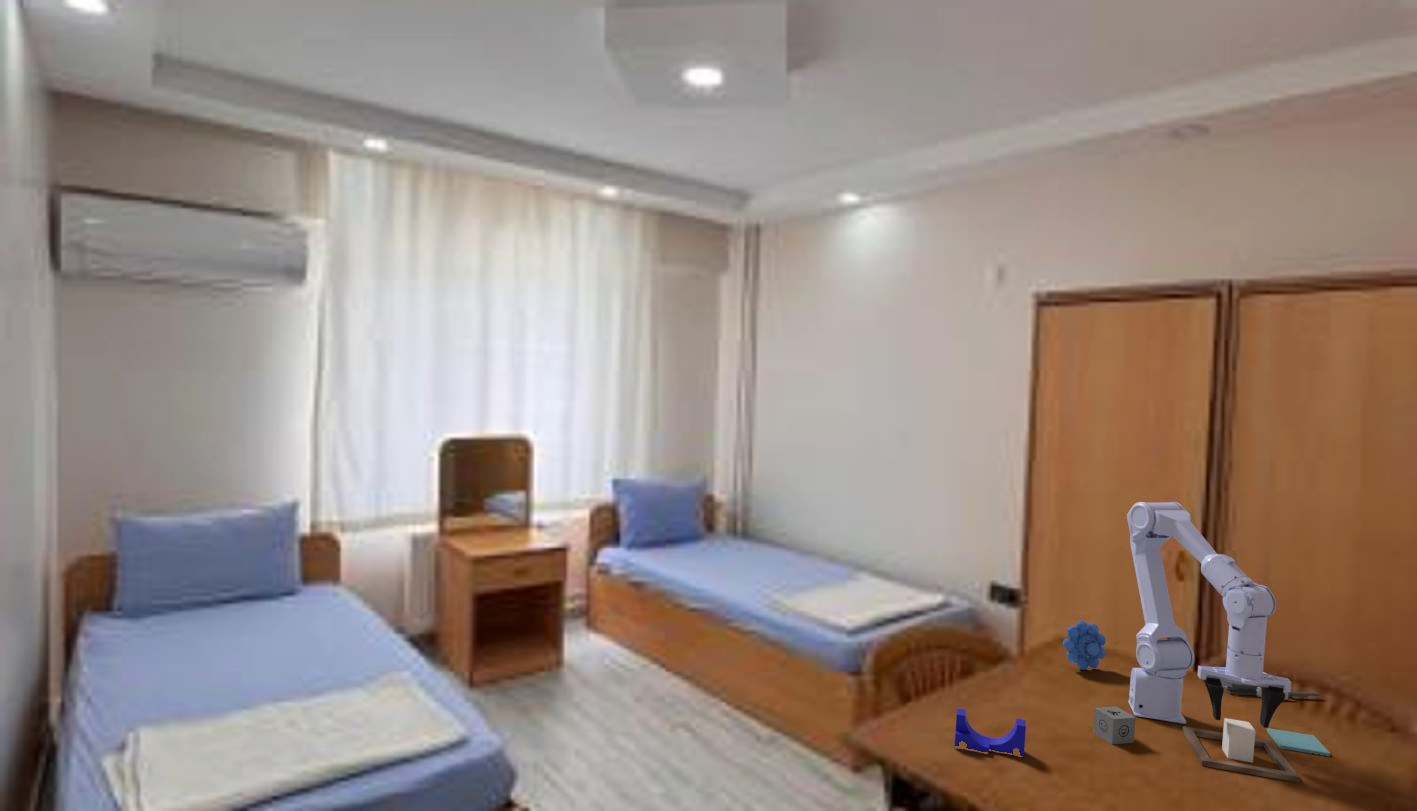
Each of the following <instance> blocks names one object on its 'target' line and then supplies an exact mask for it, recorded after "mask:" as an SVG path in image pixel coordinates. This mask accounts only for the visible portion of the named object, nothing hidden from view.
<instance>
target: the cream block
mask: <svg viewBox="0 0 1417 811" xmlns="http://www.w3.org/2000/svg"><path fill="white" fill-rule="evenodd" d="M1222 729H1223V731H1222V733H1223V741H1222V740H1221V741H1222V744H1221V745H1222V746H1221V750H1222V751H1223V753H1224V755H1225V756H1226V758H1227V759H1230V760H1236V761H1241V762H1248V763H1254V755H1255V746H1254V743H1255V738H1256V730H1255V728H1254V727H1253V726H1252V724H1251V723H1250V722H1249V721H1246V720H1238V719H1234V718H1233V719H1232V718H1225V717H1224V718H1223V728H1222Z"/></svg>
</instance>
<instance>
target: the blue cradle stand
mask: <svg viewBox="0 0 1417 811" xmlns="http://www.w3.org/2000/svg"><path fill="white" fill-rule="evenodd" d="M1015 719H1016V720H1015V722H1014V723H1015V724H1014V726H1013V728H1012V729H1011V731H1009V732H1008V733H1007V734H1005V735H1003V736H1000V737H988V736H985V735H983V734H981V733H978V732H977V731H976V730H975V729H974V728H973V727H972V726H971V725H970V722H969V721H968V718H967V714H966V709H963V708H958V707H956V718H955V722H956V723H955V734H954V747H955V746H959V742H961V741H963V742H965V743H966V744H967V747H966V748H968V749H974V750H978V751H981V752H989V749H991V750H995V751H999V752H1007V753H1012V754H1013V749H1019V752H1020V755H1021V756H1024V757H1025V747H1026V746H1025V745H1026V730H1027V724H1026V720H1025V719H1023V718H1015ZM989 753H990V752H989Z"/></svg>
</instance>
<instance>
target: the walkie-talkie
mask: <svg viewBox="0 0 1417 811" xmlns="http://www.w3.org/2000/svg"><path fill="white" fill-rule="evenodd" d="M1263 673H1264V674H1268V672H1267V673H1266V672H1265V671H1263ZM1220 682H1221V683H1222V687H1223V688H1224V690H1225V691H1226V692H1229V693H1230V694H1233V695H1242V696H1256V697H1259V698H1262V690H1261V687H1260V686H1253V685H1246V684H1239V683H1232V682H1225V681H1220ZM1283 692H1284V693H1285V699H1284V701H1287V700H1288V699H1289V698H1291V697H1293V698H1294V697H1300V698H1308V697H1320V696H1321V695H1320V693H1319V692H1314V691H1313V692H1311V691H1309V692H1308V691H1291V692H1287V691H1283ZM1288 701H1289V700H1288Z"/></svg>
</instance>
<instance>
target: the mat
mask: <svg viewBox="0 0 1417 811" xmlns="http://www.w3.org/2000/svg"><path fill="white" fill-rule="evenodd" d="M1266 732H1267V733H1268V735H1269V736H1270V737H1271V739H1272V740H1273V741H1274V742H1275V743H1276V745H1277V746H1278V747H1279V749H1283V750H1289V751H1295V752H1299V753H1300V752H1301V753H1307V754H1312V753H1314V754H1313V755H1317V756H1318V755H1319V754H1320V756H1324V755H1325V757H1331V752H1329V750H1328V749H1327V748H1326V747H1325V746H1324V745H1323V744H1322V743H1321V741H1319V739H1318V738H1317V737H1316V736H1315V735H1313V734H1307V733H1299V732H1295V731H1289V730H1282V729H1274V728H1270V727H1268V728H1266Z"/></svg>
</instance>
